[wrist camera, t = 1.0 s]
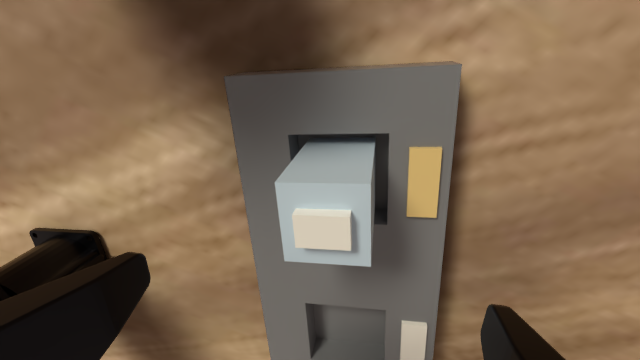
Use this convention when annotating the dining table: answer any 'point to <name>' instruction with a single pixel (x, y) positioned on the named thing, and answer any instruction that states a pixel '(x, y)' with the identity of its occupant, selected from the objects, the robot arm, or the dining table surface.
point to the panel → (390, 204)
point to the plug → (329, 202)
